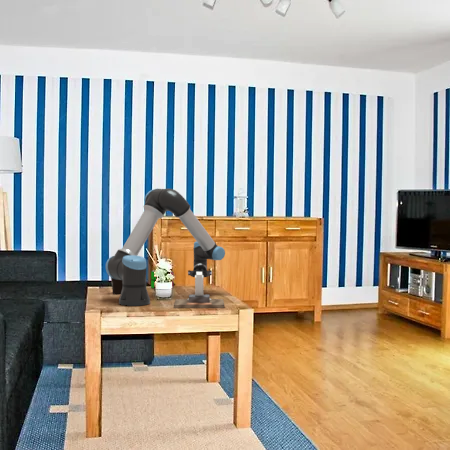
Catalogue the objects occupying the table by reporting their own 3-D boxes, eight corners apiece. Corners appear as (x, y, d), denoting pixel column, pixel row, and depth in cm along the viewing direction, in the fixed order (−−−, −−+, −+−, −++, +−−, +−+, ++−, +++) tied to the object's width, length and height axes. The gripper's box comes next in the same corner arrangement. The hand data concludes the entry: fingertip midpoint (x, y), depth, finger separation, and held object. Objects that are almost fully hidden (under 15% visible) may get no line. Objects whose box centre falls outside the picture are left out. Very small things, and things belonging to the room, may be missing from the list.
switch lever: (195, 296, 307) (195, 274, 300) (195, 292, 309) (195, 271, 302) (203, 296, 307) (203, 274, 300) (203, 292, 309) (203, 271, 302)
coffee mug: (123, 294, 340) (123, 276, 340) (108, 294, 342) (108, 276, 342) (130, 292, 352) (130, 274, 351) (116, 291, 353) (116, 273, 353)
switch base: (173, 308, 299) (173, 298, 299) (175, 302, 317) (175, 293, 317) (224, 308, 300) (224, 298, 300) (223, 302, 318) (223, 293, 318)
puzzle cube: (173, 288, 366) (173, 271, 365) (157, 290, 361) (157, 272, 360) (166, 286, 374) (166, 270, 374) (150, 287, 369) (150, 270, 369)
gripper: (212, 278, 344) (212, 283, 320) (188, 278, 344) (186, 283, 320) (212, 264, 344) (212, 269, 320) (188, 264, 343) (186, 269, 320)
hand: (199, 276), depth 320 cm, fingers closed
